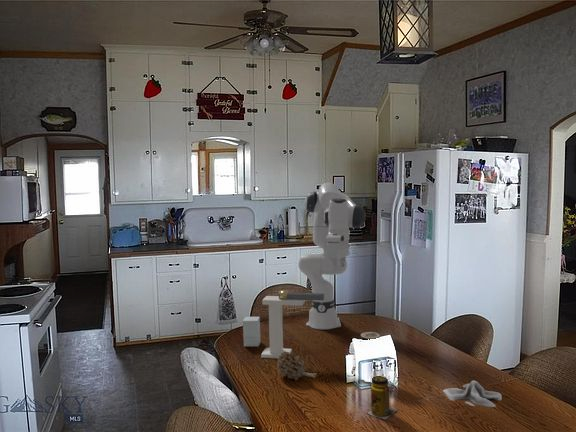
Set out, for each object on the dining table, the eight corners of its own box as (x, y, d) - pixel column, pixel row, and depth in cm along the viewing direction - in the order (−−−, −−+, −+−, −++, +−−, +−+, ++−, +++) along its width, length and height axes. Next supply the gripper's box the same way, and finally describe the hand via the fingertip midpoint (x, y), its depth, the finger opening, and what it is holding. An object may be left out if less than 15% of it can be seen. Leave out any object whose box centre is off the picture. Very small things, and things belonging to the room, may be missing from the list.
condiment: (366, 413, 170) (365, 379, 169) (378, 404, 177) (378, 371, 176) (385, 420, 166) (385, 384, 165) (397, 410, 172) (397, 376, 171)
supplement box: (260, 341, 247) (260, 316, 246) (258, 346, 240) (257, 320, 239) (246, 341, 248) (245, 316, 247) (243, 346, 240) (242, 320, 239)
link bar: (280, 297, 228) (280, 290, 228) (324, 298, 224) (324, 291, 224) (278, 299, 224) (277, 292, 224) (323, 300, 220) (323, 293, 219)
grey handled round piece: (270, 376, 204) (269, 352, 203) (286, 369, 211) (286, 346, 210) (311, 391, 188) (311, 366, 188) (327, 383, 195) (327, 358, 195)
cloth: (434, 395, 185) (434, 379, 184) (465, 382, 196) (465, 366, 195) (490, 418, 167) (490, 400, 166) (520, 402, 178) (520, 385, 177)
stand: (266, 350, 234) (264, 295, 232) (306, 352, 230) (305, 296, 228) (261, 357, 225) (259, 300, 223) (303, 359, 221) (302, 301, 219)
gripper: (338, 234, 228) (339, 265, 228) (324, 238, 209) (325, 271, 209) (352, 234, 225) (352, 265, 226) (339, 238, 206) (339, 272, 207)
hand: (339, 268), depth 217 cm, fingers open, 8 cm apart
